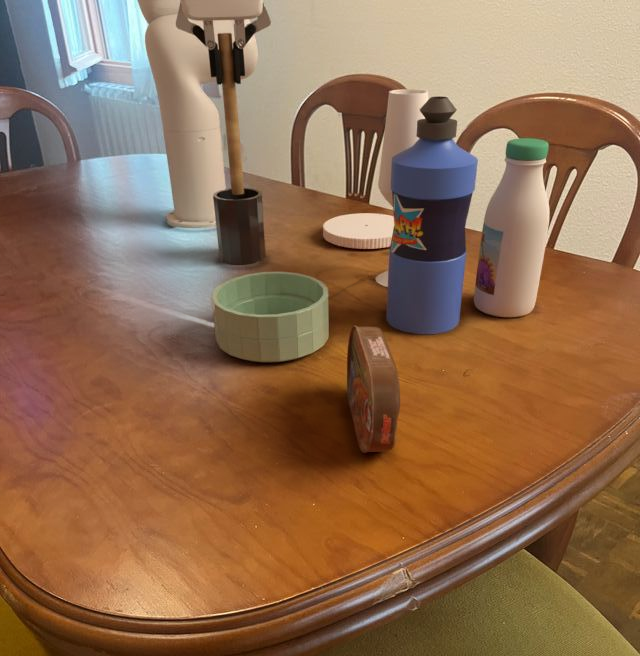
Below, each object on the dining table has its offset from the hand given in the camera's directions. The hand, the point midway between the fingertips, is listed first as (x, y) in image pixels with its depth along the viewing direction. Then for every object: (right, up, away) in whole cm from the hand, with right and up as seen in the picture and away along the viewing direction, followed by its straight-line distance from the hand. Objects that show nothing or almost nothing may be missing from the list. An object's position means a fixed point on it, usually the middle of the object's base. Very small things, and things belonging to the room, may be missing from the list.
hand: (228, 82), depth 87 cm
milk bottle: (+36, -31, -2) cm, 47 cm away
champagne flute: (+23, -25, +6) cm, 35 cm away
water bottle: (+25, -33, -5) cm, 41 cm away
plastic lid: (+20, -16, +21) cm, 33 cm away
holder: (0, -20, +14) cm, 25 cm away
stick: (0, -12, +8) cm, 14 cm away
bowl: (+7, -36, -9) cm, 37 cm away
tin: (+17, -46, -24) cm, 55 cm away
